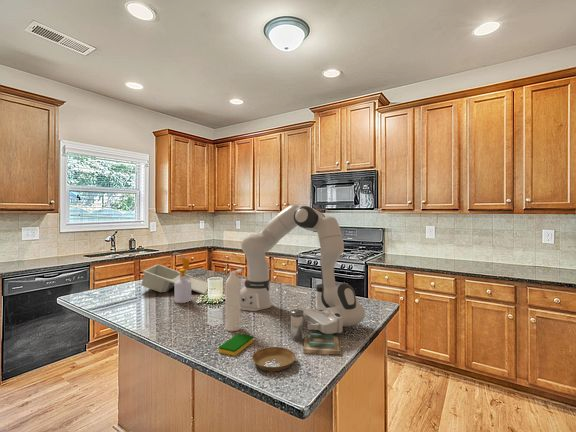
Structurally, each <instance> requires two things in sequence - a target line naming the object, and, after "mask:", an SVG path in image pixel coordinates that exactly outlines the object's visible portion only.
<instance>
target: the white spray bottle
mask: <svg viewBox="0 0 576 432" xmlns="http://www.w3.org/2000/svg"><path fill="white" fill-rule="evenodd" d="M242 272H243V269H240V268H239V269H236V270H235V271H234V270H233V271H230V273H229V274H230V275H229V276H228V278H227V279H226V281H225V285H224V286H225V306H224V307H225V320H224V321H225V324H224V325H225V327H224V328H225V330H226V331H228V332H235V331H239V330H240V329H241V309H240V308H241V306H240V304H241V301H240V290H241V280H240V279H239V277H238V276H237V273H239V274H240V273H242Z"/></svg>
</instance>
